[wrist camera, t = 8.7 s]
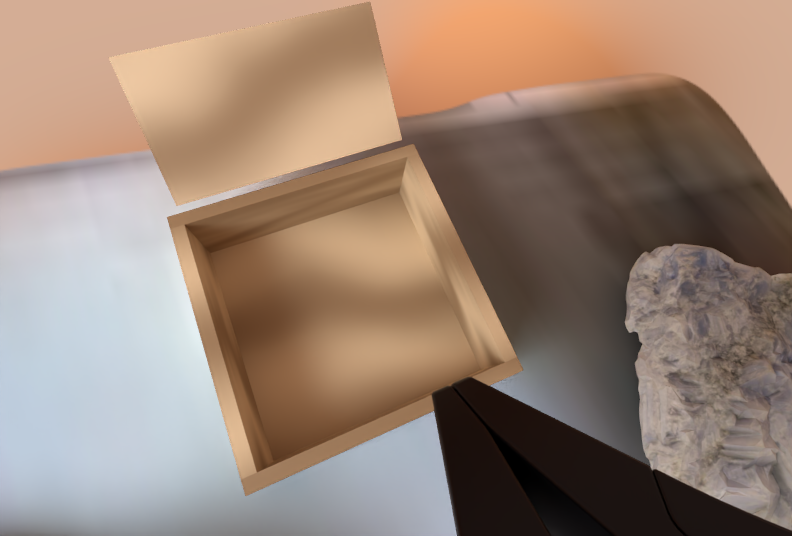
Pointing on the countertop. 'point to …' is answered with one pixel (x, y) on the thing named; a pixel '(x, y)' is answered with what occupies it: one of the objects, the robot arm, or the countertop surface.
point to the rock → (715, 375)
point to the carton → (334, 310)
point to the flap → (261, 100)
